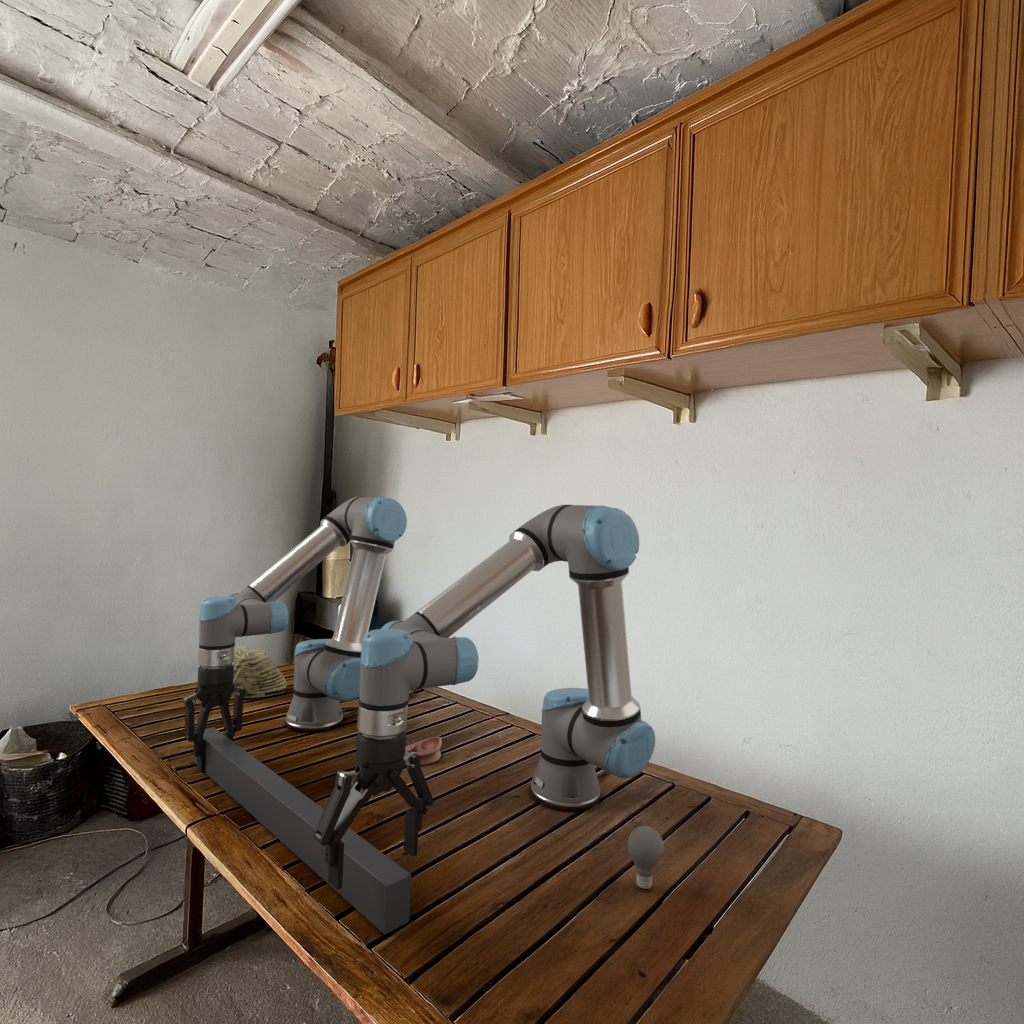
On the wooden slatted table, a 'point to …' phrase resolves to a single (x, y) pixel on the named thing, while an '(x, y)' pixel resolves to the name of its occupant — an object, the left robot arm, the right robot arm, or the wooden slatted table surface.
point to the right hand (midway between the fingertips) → (374, 868)
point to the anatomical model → (427, 749)
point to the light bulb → (645, 853)
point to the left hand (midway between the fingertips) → (212, 765)
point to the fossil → (257, 673)
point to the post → (310, 833)
